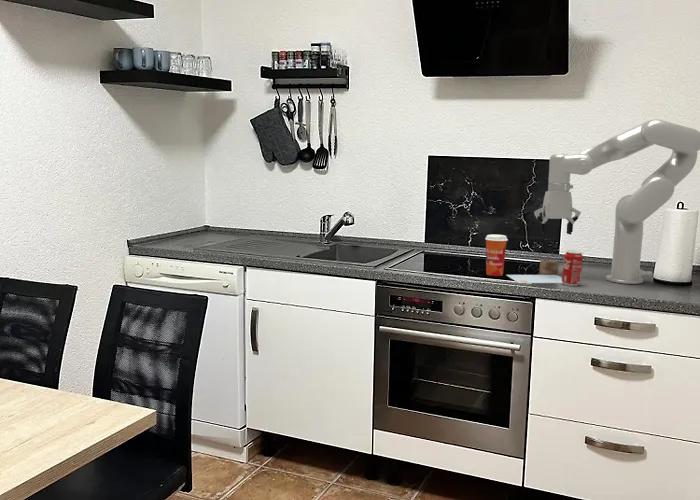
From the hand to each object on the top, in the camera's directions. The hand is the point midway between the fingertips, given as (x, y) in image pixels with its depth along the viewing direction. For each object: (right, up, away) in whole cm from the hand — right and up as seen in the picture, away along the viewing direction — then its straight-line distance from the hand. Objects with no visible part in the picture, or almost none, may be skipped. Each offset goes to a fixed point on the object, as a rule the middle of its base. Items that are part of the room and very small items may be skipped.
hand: (556, 234), depth 259 cm
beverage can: (+1, -18, -14) cm, 23 cm away
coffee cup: (-23, -16, +2) cm, 28 cm away
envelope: (-8, -17, -5) cm, 19 cm away
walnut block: (-1, -15, +7) cm, 17 cm away
